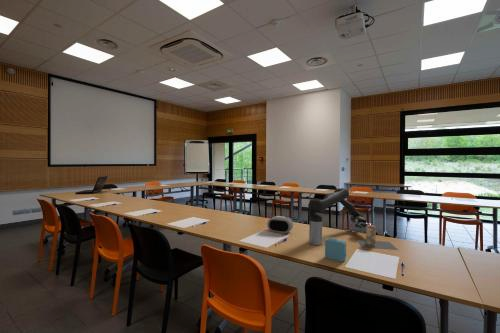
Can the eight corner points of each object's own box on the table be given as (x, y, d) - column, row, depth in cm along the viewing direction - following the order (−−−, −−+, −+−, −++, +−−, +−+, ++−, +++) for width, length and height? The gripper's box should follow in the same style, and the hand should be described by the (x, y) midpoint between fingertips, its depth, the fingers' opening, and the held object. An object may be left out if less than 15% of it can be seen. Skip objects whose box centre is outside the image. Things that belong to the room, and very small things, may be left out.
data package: (346, 260, 155) (346, 241, 155) (344, 262, 151) (344, 243, 151) (327, 255, 162) (327, 237, 162) (324, 257, 159) (325, 239, 158)
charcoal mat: (362, 248, 176) (362, 247, 176) (355, 240, 194) (356, 239, 194) (398, 250, 172) (398, 250, 172) (389, 242, 190) (389, 241, 190)
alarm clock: (267, 232, 214) (267, 216, 214) (270, 229, 223) (270, 214, 223) (290, 235, 206) (290, 219, 206) (292, 232, 215) (293, 216, 215)
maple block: (368, 245, 181) (368, 226, 180) (366, 243, 186) (366, 224, 185) (375, 245, 180) (375, 226, 180) (373, 243, 185) (373, 225, 185)
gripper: (352, 217, 211) (357, 222, 195) (370, 218, 208) (376, 223, 192) (352, 226, 211) (357, 231, 195) (370, 227, 209) (376, 232, 193)
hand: (366, 227), depth 194 cm, fingers open, 8 cm apart
